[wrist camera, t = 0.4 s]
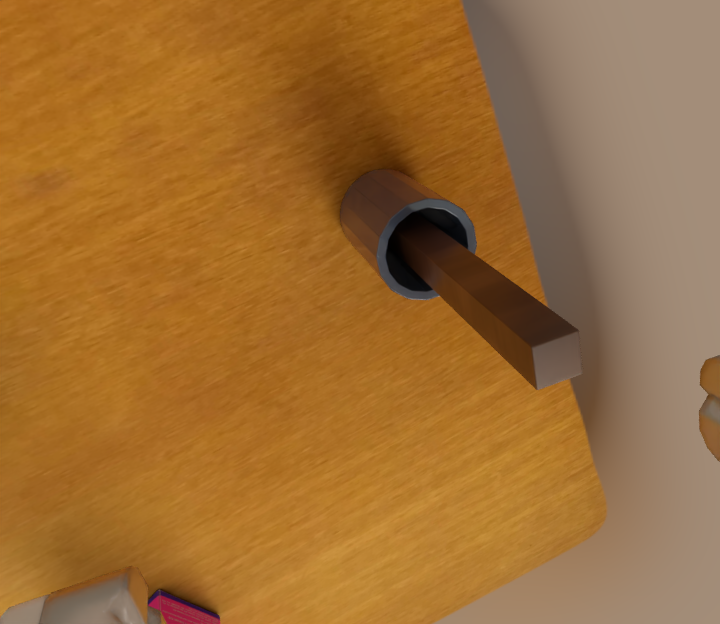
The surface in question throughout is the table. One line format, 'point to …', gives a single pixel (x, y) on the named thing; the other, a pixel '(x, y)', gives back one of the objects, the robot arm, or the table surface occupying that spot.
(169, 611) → the supplement box
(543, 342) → the stirring stick
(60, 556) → the table surface
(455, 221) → the stick holder
